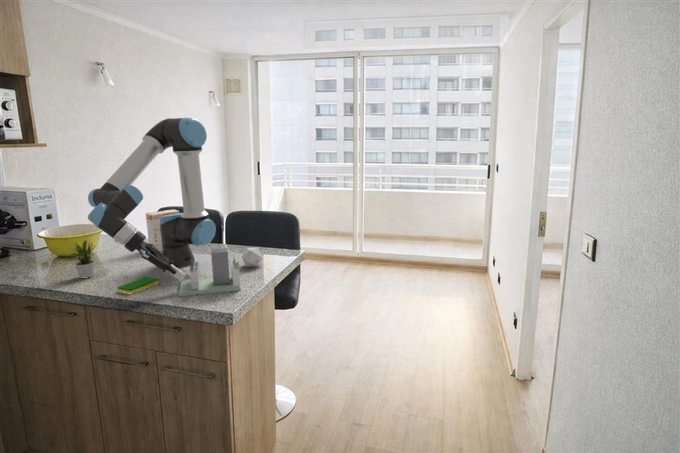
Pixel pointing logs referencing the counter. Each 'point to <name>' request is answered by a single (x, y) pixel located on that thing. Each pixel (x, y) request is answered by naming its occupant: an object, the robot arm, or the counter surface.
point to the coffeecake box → (156, 227)
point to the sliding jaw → (194, 274)
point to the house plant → (83, 259)
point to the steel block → (220, 266)
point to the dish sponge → (138, 285)
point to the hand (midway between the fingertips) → (182, 277)
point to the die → (252, 257)
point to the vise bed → (208, 285)
